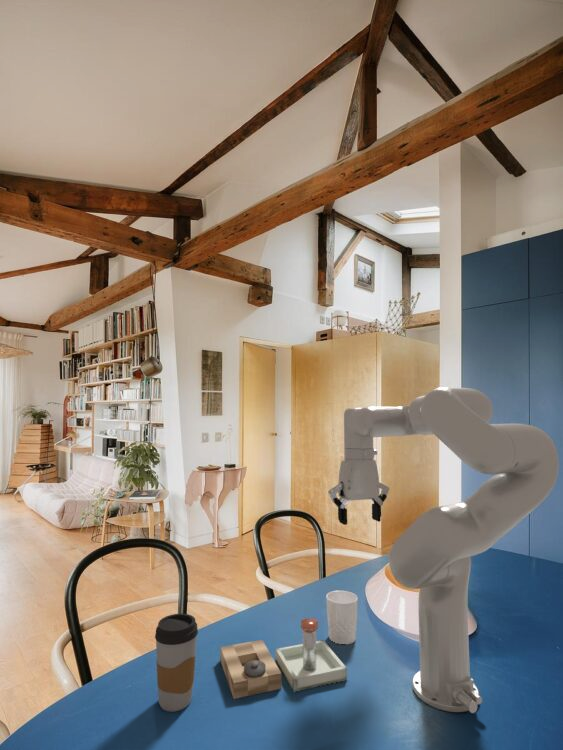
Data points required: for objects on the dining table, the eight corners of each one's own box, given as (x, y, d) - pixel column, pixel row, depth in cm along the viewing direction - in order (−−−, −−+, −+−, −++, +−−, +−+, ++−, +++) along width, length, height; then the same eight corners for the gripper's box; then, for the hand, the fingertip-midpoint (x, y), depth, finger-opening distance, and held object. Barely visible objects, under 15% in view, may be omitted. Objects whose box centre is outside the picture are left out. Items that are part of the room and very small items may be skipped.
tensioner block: (281, 688, 90) (281, 664, 90) (233, 698, 86) (233, 674, 87) (262, 652, 103) (262, 632, 103) (220, 660, 99) (220, 639, 100)
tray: (347, 680, 92) (346, 668, 92) (293, 692, 88) (293, 679, 88) (323, 651, 103) (323, 640, 104) (275, 660, 100) (275, 649, 100)
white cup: (357, 647, 105) (357, 604, 106) (325, 644, 106) (324, 602, 107) (358, 631, 113) (357, 591, 113) (328, 628, 114) (327, 589, 115)
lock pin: (321, 670, 95) (320, 624, 96) (304, 673, 94) (304, 627, 94) (314, 660, 98) (313, 617, 99) (298, 664, 97) (298, 619, 98)
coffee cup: (179, 683, 91) (180, 608, 93) (205, 699, 86) (206, 620, 87) (144, 703, 85) (146, 623, 86) (170, 722, 80) (172, 637, 81)
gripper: (379, 452, 120) (381, 516, 119) (322, 454, 115) (323, 521, 113) (395, 455, 113) (397, 522, 112) (335, 457, 108) (336, 528, 106)
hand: (359, 521), depth 113 cm, fingers open, 9 cm apart
